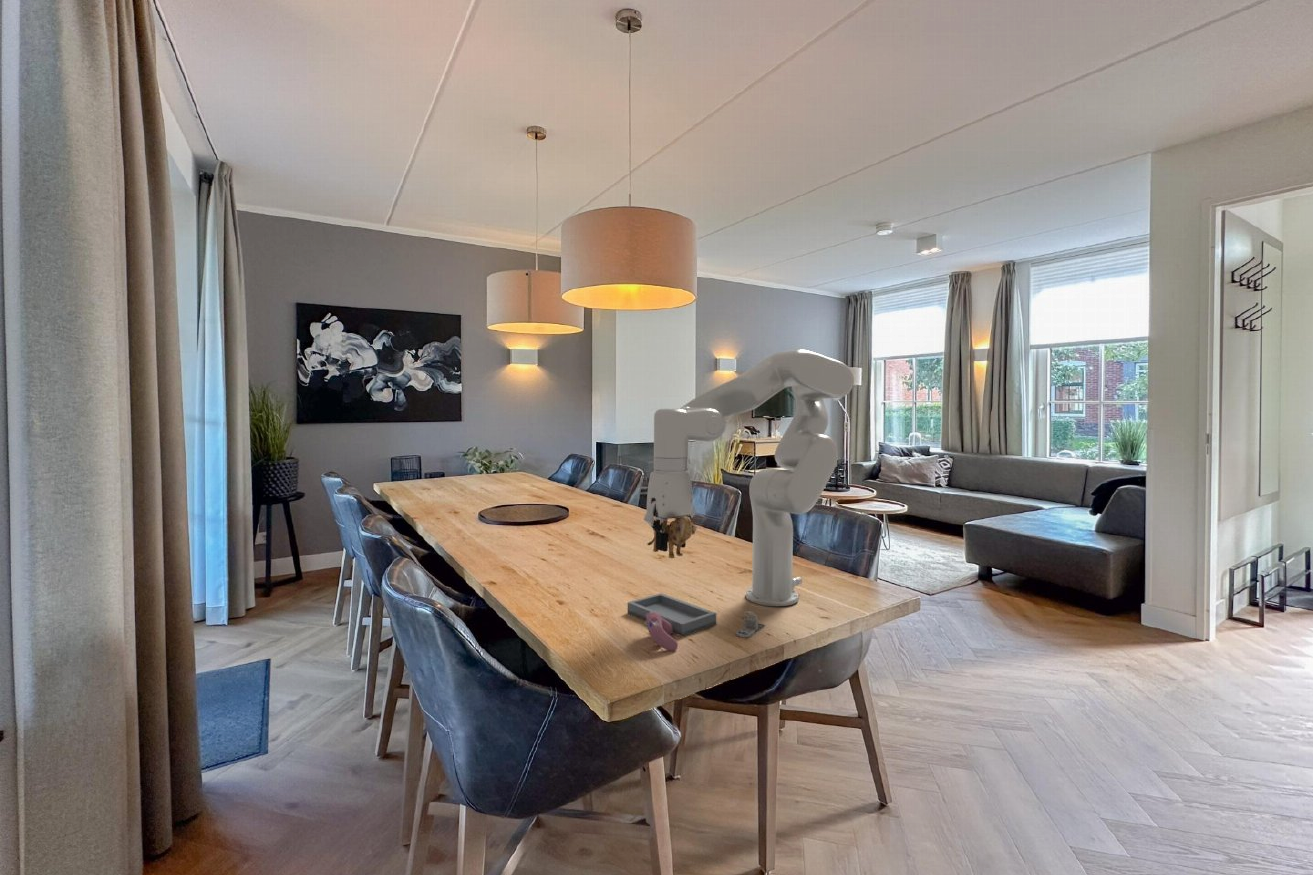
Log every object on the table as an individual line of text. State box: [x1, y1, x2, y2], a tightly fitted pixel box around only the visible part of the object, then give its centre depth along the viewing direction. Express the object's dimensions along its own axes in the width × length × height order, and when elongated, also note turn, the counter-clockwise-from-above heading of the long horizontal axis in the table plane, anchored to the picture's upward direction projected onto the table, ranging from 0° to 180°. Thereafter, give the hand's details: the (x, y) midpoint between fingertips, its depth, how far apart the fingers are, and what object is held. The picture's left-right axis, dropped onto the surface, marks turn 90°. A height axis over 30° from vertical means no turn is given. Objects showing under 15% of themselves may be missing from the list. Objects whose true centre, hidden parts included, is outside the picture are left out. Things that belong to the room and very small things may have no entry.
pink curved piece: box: [644, 611, 678, 652], centre depth 116 cm, size 10×5×7 cm, turn 5°
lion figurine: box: [646, 516, 698, 559], centre depth 130 cm, size 15×5×9 cm, turn 40°
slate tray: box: [627, 593, 717, 637], centre depth 129 cm, size 10×18×2 cm, turn 41°
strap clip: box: [735, 610, 765, 639], centre depth 123 cm, size 8×3×4 cm, turn 145°
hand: (670, 547), depth 129 cm, fingers closed on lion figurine, 4 cm apart
